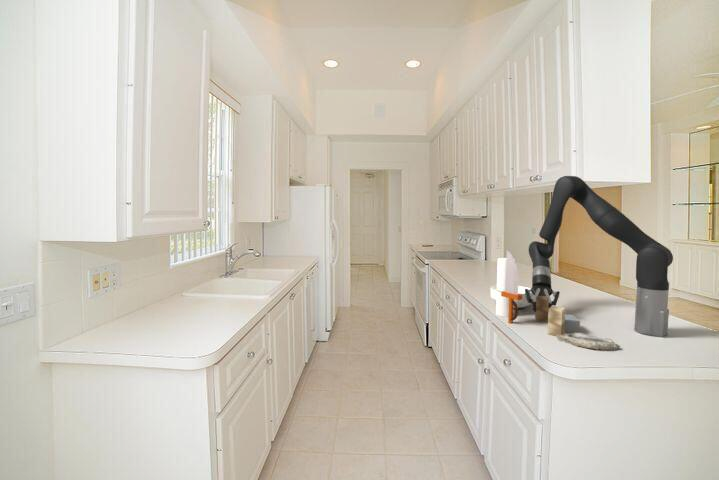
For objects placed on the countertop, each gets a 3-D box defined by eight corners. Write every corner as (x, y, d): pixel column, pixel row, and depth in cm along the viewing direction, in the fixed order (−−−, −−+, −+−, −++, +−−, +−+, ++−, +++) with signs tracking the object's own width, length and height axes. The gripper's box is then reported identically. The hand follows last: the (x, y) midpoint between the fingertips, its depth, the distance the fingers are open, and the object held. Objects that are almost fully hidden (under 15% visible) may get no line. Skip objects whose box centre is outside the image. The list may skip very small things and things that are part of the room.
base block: (572, 327, 141) (572, 314, 141) (579, 333, 133) (580, 320, 133) (550, 325, 143) (550, 313, 143) (556, 332, 135) (556, 319, 135)
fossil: (556, 344, 124) (556, 336, 123) (560, 335, 131) (561, 327, 131) (619, 357, 113) (620, 348, 112) (620, 347, 120) (621, 338, 120)
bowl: (543, 310, 165) (544, 292, 164) (506, 313, 160) (507, 294, 159) (515, 299, 184) (516, 284, 183) (482, 302, 179) (482, 285, 178)
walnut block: (546, 319, 150) (547, 296, 150) (547, 322, 146) (548, 298, 146) (535, 318, 152) (536, 295, 152) (535, 320, 148) (536, 297, 147)
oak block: (564, 334, 132) (565, 308, 131) (560, 337, 129) (562, 310, 128) (551, 331, 135) (552, 306, 134) (547, 334, 132) (548, 308, 131)
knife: (500, 320, 149) (502, 250, 147) (504, 319, 150) (506, 249, 148) (516, 325, 142) (519, 252, 139) (521, 325, 143) (523, 251, 141)
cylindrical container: (514, 317, 154) (516, 260, 151) (497, 316, 155) (499, 260, 153) (511, 312, 160) (513, 258, 158) (494, 311, 162) (496, 257, 160)
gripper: (524, 272, 158) (523, 305, 147) (560, 274, 152) (562, 309, 142) (523, 281, 163) (523, 314, 153) (558, 284, 157) (560, 318, 147)
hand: (542, 311), depth 147 cm, fingers closed on walnut block, 4 cm apart
